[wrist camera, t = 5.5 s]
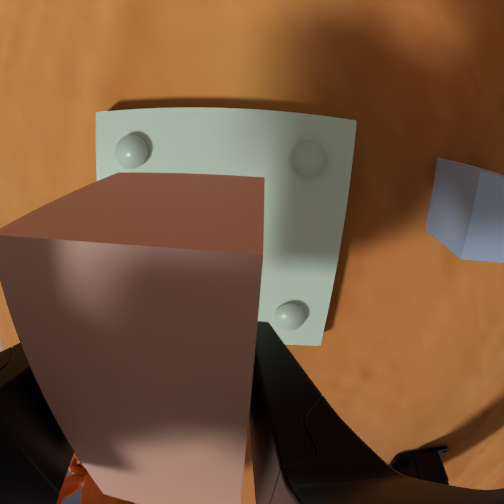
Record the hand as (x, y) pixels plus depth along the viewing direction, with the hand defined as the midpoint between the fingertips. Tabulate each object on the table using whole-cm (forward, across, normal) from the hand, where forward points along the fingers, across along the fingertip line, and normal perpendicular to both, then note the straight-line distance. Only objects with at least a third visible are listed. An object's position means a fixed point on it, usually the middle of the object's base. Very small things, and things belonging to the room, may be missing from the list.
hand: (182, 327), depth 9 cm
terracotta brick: (+1, 0, 0) cm, 1 cm away
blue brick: (+8, -13, -3) cm, 16 cm away
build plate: (+8, 0, 0) cm, 8 cm away
